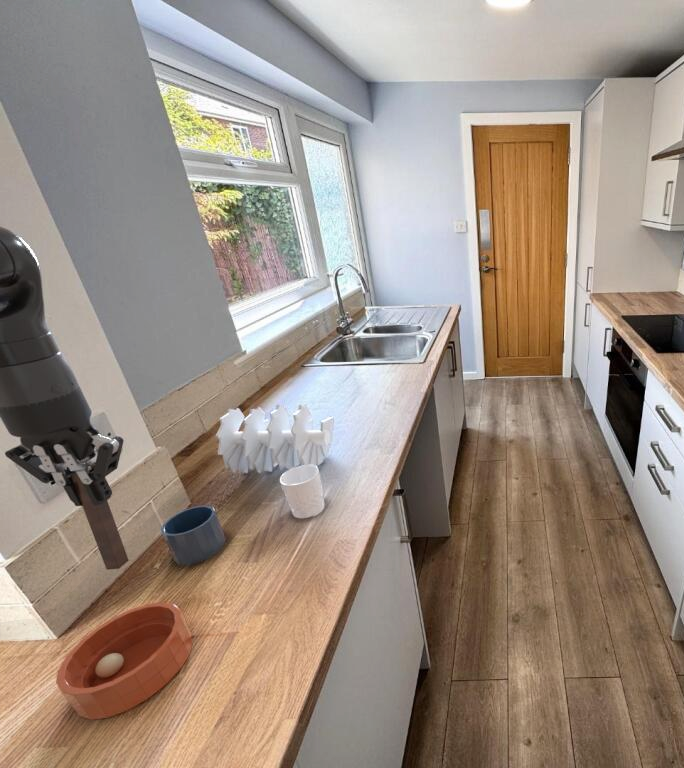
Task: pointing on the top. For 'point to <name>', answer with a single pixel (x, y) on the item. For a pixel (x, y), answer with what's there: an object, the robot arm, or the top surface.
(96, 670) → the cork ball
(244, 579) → the top surface
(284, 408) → the spiral staircase
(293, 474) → the white cup
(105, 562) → the stick
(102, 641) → the bowl
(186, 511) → the utensil pot
